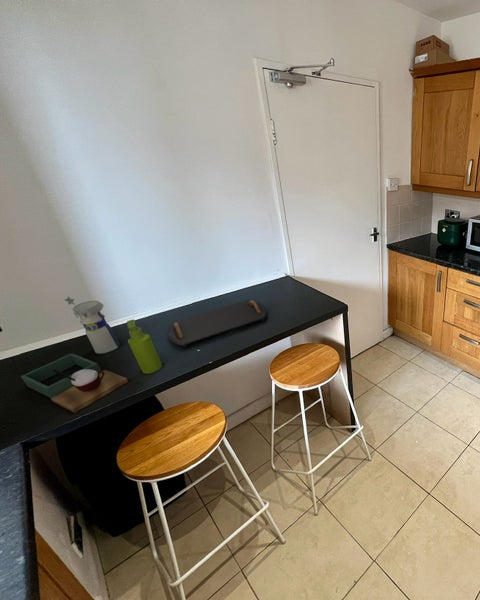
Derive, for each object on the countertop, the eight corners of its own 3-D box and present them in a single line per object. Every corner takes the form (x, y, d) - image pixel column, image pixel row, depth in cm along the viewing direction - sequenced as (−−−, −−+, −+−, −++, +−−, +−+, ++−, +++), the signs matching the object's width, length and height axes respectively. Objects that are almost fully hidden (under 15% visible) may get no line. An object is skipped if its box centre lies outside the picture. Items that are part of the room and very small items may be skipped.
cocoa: (107, 377, 107) (91, 348, 102) (108, 386, 103) (92, 357, 98) (69, 390, 101) (50, 361, 96) (69, 401, 97) (49, 370, 92)
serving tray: (256, 302, 159) (253, 291, 156) (273, 320, 143) (271, 308, 141) (165, 330, 136) (160, 317, 134) (174, 354, 121) (169, 341, 118)
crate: (53, 399, 100) (46, 388, 98) (27, 386, 105) (20, 376, 103) (102, 373, 111) (97, 363, 109) (77, 362, 116) (71, 353, 114)
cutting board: (74, 413, 95) (72, 409, 94) (52, 402, 99) (50, 398, 98) (128, 381, 107) (126, 378, 107) (107, 372, 111) (105, 369, 111)
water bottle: (118, 350, 123) (89, 293, 112) (90, 356, 120) (58, 298, 109) (124, 339, 130) (97, 285, 118) (98, 345, 127) (68, 289, 115)
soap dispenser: (143, 377, 109) (119, 329, 100) (142, 367, 114) (119, 320, 105) (163, 370, 112) (142, 323, 103) (161, 361, 117) (140, 315, 108)
